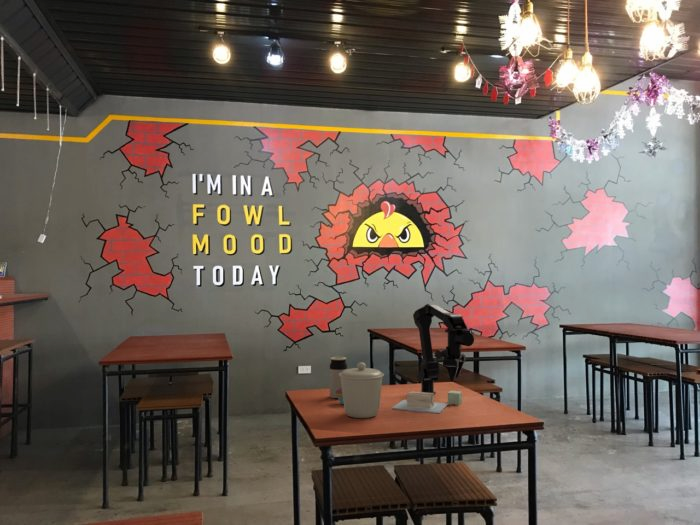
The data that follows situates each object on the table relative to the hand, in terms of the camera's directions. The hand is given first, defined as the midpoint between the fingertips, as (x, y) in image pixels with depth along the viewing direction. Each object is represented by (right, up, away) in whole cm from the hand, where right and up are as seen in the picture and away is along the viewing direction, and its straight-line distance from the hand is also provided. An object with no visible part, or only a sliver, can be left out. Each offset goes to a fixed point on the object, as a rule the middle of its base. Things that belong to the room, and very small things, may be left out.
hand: (454, 379), depth 241 cm
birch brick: (-16, -10, -6) cm, 20 cm away
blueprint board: (-16, -10, -7) cm, 20 cm away
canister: (-41, -10, -20) cm, 47 cm away
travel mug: (-51, -11, +13) cm, 54 cm away
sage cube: (0, -11, 0) cm, 11 cm away
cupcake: (-47, -11, +1) cm, 49 cm away
